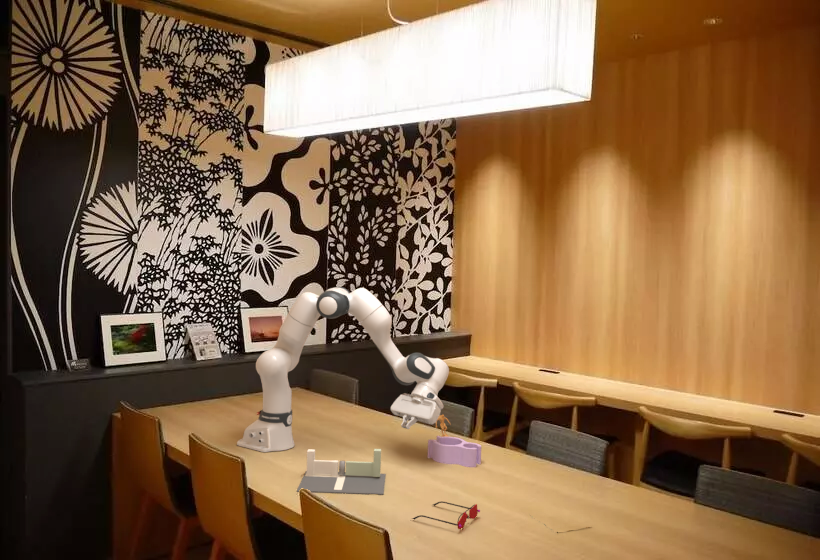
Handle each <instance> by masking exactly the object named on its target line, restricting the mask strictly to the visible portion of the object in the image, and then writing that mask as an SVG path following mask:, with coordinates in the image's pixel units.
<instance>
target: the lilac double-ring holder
mask: <svg viewBox="0 0 820 560" xmlns="http://www.w3.org/2000/svg"><path fill="white" fill-rule="evenodd" d="M441 436H442V435H441ZM441 436H440V435H437V436H436V439H431V438H430V439H428V440H427V442H428V443H427V459H432V460H433V461H434V462H437V463H441V464H445V465H459V466H463V467H467V468H477V465H481V463H482V445H481V444H479V443H476V442H470V441H469V442H468V441H467V440H464V439H463V438H460V437H454V436H449V437H441Z"/></svg>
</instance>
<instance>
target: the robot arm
mask: <svg viewBox="0 0 820 560" xmlns="http://www.w3.org/2000/svg"><path fill="white" fill-rule="evenodd" d="M346 314H351V315H352V316H353V317H355V319H356V320H357V321H358V322H359V323H360V325H361V326H362V327H363V328H364V330H365V331H366V333H367V334H368V335H369V337H370V339H371V340H372V342H373V343H374V345H375V347H376V348H377V350H378V351H379V352H380V354H381V355H382V357H383V358H384V359H385V361H386V362H387V364H388V366H389V367H390V370H391V371H392V375H393V377H394V379H395V381H396V382H397V383H399V384H400V385H402V386H411V385H413V384H414V383H416V385H415V387H414V388H413V390H412V391H411V394H410V393H407V392H404V393H402V394H400V395H399V396H398V397H397V398H395V400H394V401H393V403H392V404H391V406H390V411H391V413H392V414H393V415H394V416H399V417H402V422H401V424H400V426H401V428H402V429H405V430H406V429H407V430H409V429H410V428H411V427H412V426H413V425H415V424H416V423H417V422H421V423H424V424H429V425H434V424H436V421H437V419H438V417H439V416H440V415H441V410H443V409H444V404H443V402H442V401H441V399H440V398H439V397H438V393H439V392H440V391H441V389H443V387H444V386H445V384H446V381H447V379H448V377H449V373H450V368H449V366H448V364H447V362H445V361H444V360H443V359H441V358H438V357H436V358H435V357H429V356H426V355H424V354H423V353H421V352H412V353H410V354H408V355H407V356H406V357H405V356H403V354H402V353H401V352H400V350H399V348H397V346H396V345H395V343H394V342H393V340H392V338H391V328H392V322H393V320H392V316H391V315H390V313H389V311H388V310H387V309H386V307H385V306H384V305H383V304H382V303H381V301H380V300H379V299H378V298H377V297H376V296H375V295H374V294H372V293H371V291H369V290H368V289H366V288H365V287H364V288H363V287H359V288H357V289H354V290H353V291H351V292H350V291H349V289H346V288H345V287H343V286H334V287H330V288H328V289H326V290H325V291H323V292H322V293H320V295H318V294H316V293H314V292H310V291H305V292H303V293H301V294H300V295H299V296H298V297H297V299H296V300H295V302H294V303H293V304H292V306H291V308H290V309H289V311H288V313H287V315H286V317H285V319H284V320H283V323H282V324H281V326H280V328H279V330H278V332H279V333H278V337H277V341H276V343H275V345H274V346H273V347H272V348H270V349H268V350H265V351H264V352H262V353H261V354H260V355H259V357H258V358H257V359H256V362H255V370H256V372H257V374H258V375H259V378H260V381H261V387H262V409H260V410H259V411H258V412H256V416H258V415H259V416H258V419H256V420H255V421H253V422H252V423H251V424H249V425H248V426H246V427H245V429H244V431H243V437H242V438H240V439H238V440H237V441H236V446H239V447H243V448H246V449H250V450H253V451H254V450H255V451H257V452H261V453H267V452H279V451H285V450H290V449H292V448H293V447H295V446H296V445H295V442H294V437H293V429H292V427H293V426H292V424H293V409H292V399H293V398H292V397H293V394H292V393H293V391H292V388H291V387H290V382H289V379H288V374H289V372H291V371H293V370H294V369H295V368H296V367H297V365H298V364H299V362H300V357H301V355H302V351H303V348H304V345H305V343H306V341H307V340H308V337H309V336H310V334H311V332H312V330H313V329H314V327H315V325H316V323H317V322H318V320H319V318H320V317H323V318H326V319H330V320H331V319H337V318H339V317H341V316H343V315H346ZM437 422H438V421H437Z"/></svg>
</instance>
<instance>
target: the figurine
mask: <svg viewBox="0 0 820 560" xmlns="http://www.w3.org/2000/svg"><path fill="white" fill-rule="evenodd" d="M438 421H439V426H440V428H441V430H440V431H441V434H442V435H441V437H450V436H449V435H448V434H447V433H446V432H447V429H448V427H447V425H446V423H445V421H447V423H449V425H450V426H451V425H452V424H451V421H450V420H449V419H448V418H447V417H446V416H445V415H444V414H440V415H439V417H438V419H437V421H436V422H435V429H438V426H437V424H438Z"/></svg>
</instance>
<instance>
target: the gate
mask: <svg viewBox="0 0 820 560" xmlns="http://www.w3.org/2000/svg"><path fill="white" fill-rule="evenodd" d="M373 449H374V450H373V461H355V460H353V461H352V460H350V461H349V460H339V462H338V472H339V475H355V476H373V477H380V474H381V466H382V465H381V464H382V462H381V461H382V448H373ZM345 472H346V474H345Z"/></svg>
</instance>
